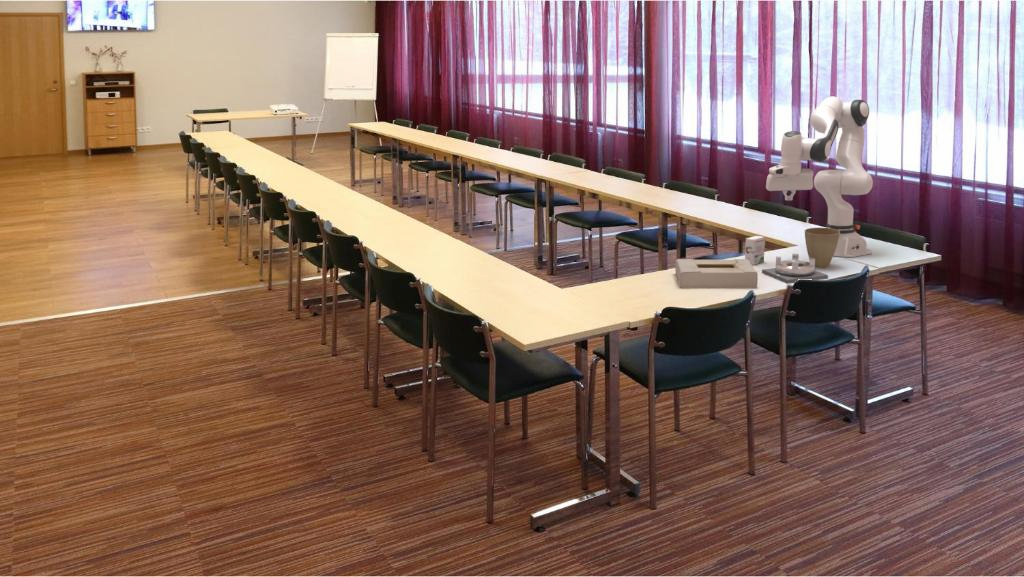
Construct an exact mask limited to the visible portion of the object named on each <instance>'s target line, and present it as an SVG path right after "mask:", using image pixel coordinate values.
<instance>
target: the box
mask: <svg viewBox="0 0 1024 577" xmlns="http://www.w3.org/2000/svg"><path fill="white" fill-rule="evenodd" d="M674 267H675V269H674V270H675V276H676V278H677V281H678V285H679V287H680V288H724V289H725V288H739V289H740V288H744V289H745V288H753V289H754V288H757V287H758V280H759V279H758V277H759V275H758V271H756V270H755V268H754V265H751V263H750V261H749V260H748V259H745V258H742V259H741V258H739V259H738V258H734V259H693V258H688V259H687V258H677V259H676V260H675V266H674Z"/></svg>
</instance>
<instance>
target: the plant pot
mask: <svg viewBox="0 0 1024 577" xmlns="http://www.w3.org/2000/svg"><path fill="white" fill-rule="evenodd" d="M839 235H840V231H839V230H836V229H831V228H826V227H809V228H806V229H804V239H805V246H806V252H807V256H808V260H809V261H810V258H815V268H816V269H817V268H819V269H825V268H828V267H829V266H830V265H831V262H832V260H833V258H834V256H833V255H834V253H835V250H836V247H837V243H838V239H839Z"/></svg>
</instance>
